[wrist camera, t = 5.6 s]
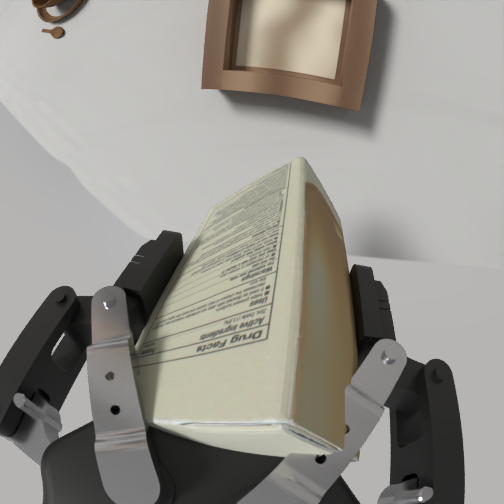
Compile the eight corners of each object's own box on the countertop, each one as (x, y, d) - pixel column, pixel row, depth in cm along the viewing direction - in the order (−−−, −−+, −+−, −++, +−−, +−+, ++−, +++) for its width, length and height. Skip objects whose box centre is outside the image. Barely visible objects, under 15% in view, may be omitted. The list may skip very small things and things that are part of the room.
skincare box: (252, 259, 18) (193, 461, 8) (208, 206, 16) (95, 413, 6) (347, 218, 15) (365, 468, 5) (308, 149, 13) (285, 433, 3)
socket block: (370, -14, 16) (379, -24, 12) (352, 106, 25) (359, 112, 22) (226, -32, 17) (214, -43, 14) (213, 85, 26) (201, 88, 23)
